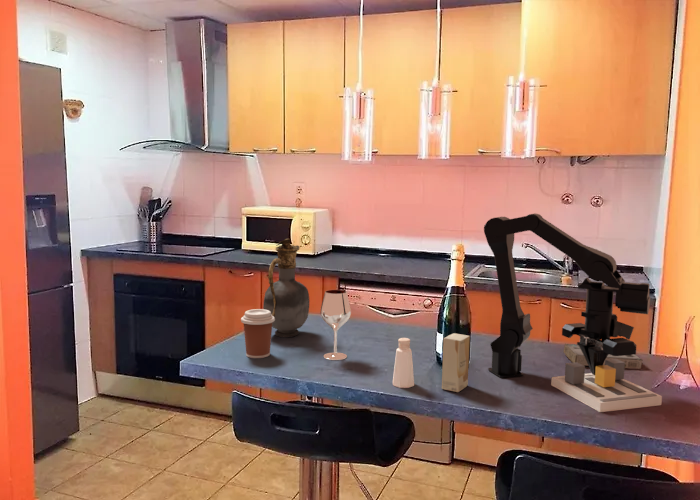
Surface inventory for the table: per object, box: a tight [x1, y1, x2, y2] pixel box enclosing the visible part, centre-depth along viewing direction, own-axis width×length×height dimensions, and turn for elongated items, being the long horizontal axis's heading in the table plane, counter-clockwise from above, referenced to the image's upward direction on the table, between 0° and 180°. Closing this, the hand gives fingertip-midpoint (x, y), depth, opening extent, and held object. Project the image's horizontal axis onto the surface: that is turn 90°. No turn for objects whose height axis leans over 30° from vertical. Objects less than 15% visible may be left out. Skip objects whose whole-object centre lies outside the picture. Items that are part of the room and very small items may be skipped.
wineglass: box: [320, 289, 352, 361], centre depth 161 cm, size 8×8×18 cm
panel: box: [550, 359, 663, 413], centre depth 136 cm, size 16×17×6 cm
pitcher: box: [262, 238, 310, 338], centre depth 182 cm, size 11×19×30 cm, turn 160°
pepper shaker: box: [392, 337, 415, 389], centre depth 141 cm, size 5×5×11 cm
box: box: [563, 343, 643, 370], centre depth 161 cm, size 11×17×3 cm, turn 86°
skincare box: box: [441, 332, 471, 393], centre depth 139 cm, size 6×4×12 cm
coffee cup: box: [240, 308, 275, 359], centre depth 163 cm, size 9×9×12 cm
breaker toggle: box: [595, 365, 616, 387], centre depth 136 cm, size 3×3×4 cm
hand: (595, 374), depth 139 cm, fingers closed
